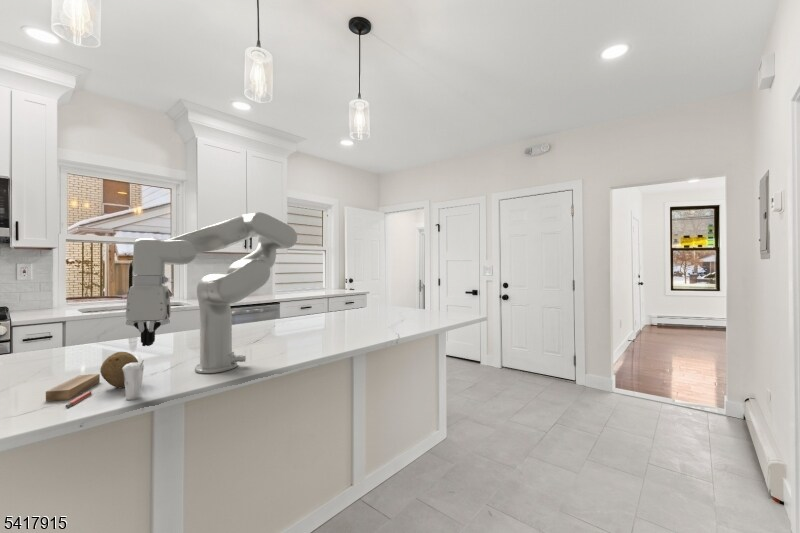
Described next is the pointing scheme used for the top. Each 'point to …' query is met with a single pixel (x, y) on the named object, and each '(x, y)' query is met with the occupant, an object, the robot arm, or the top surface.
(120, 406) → the top surface
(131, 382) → the milkshake
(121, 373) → the coconut
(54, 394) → the batten
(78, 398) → the carpenter pencil
